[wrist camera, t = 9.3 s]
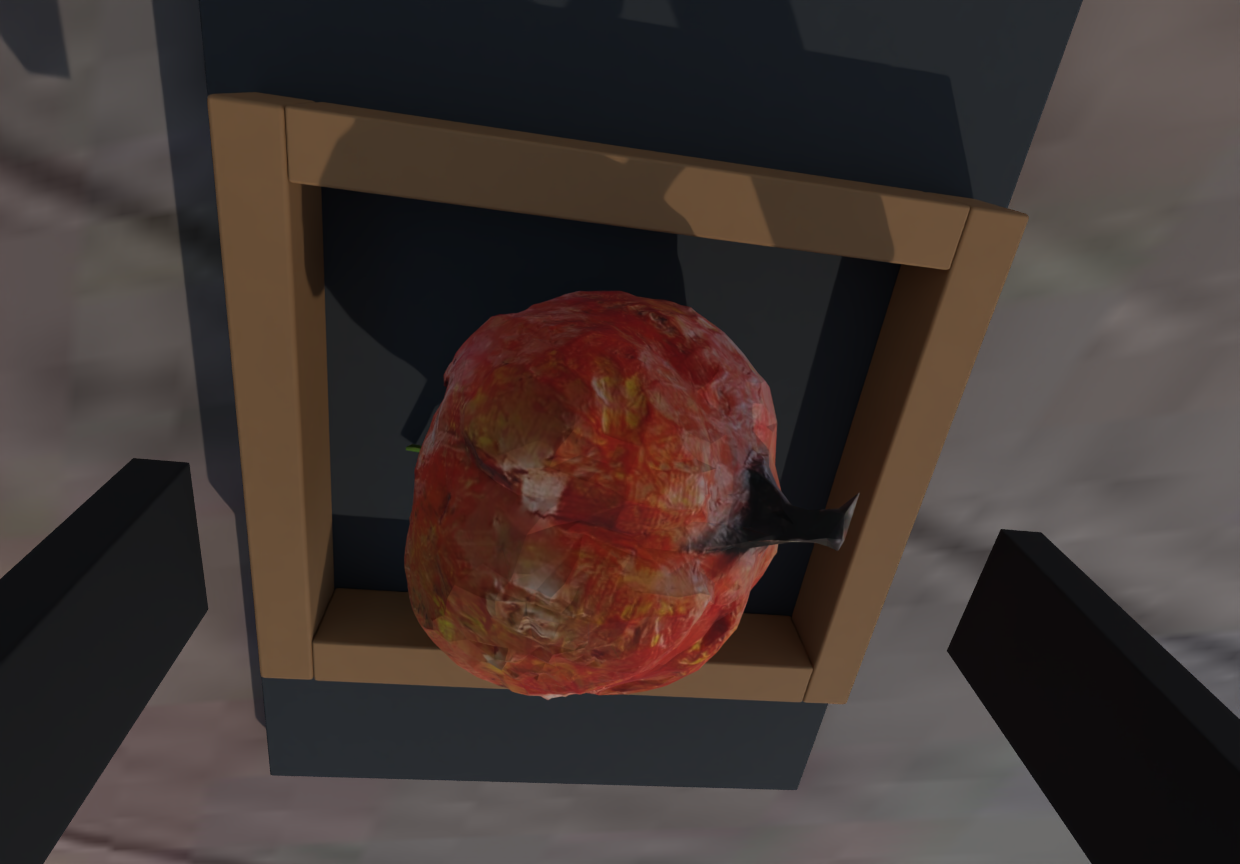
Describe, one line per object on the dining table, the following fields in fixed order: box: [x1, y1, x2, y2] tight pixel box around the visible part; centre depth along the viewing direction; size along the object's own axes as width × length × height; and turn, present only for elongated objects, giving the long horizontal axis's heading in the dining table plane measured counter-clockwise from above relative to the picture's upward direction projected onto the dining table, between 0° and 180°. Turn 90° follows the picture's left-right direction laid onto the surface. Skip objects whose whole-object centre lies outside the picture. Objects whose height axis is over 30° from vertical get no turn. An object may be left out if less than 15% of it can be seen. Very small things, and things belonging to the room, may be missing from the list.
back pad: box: [199, 0, 1083, 790], centre depth 16 cm, size 24×16×3 cm, turn 172°
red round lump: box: [404, 291, 860, 700], centre depth 14 cm, size 7×7×10 cm
